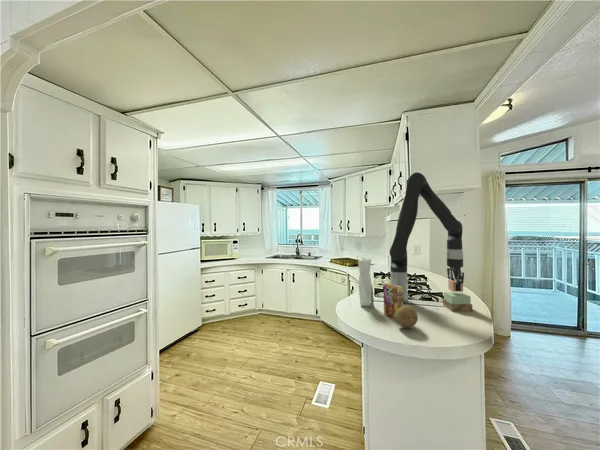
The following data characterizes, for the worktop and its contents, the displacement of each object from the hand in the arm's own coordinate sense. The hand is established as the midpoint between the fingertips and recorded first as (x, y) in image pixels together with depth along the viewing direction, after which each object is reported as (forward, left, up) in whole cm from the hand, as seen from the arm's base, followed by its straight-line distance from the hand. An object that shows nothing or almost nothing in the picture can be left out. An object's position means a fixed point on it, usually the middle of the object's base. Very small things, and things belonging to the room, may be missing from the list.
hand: (455, 289), depth 135 cm
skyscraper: (-46, +3, -10) cm, 48 cm away
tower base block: (+1, 0, -10) cm, 10 cm away
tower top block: (0, 0, -6) cm, 6 cm away
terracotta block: (0, 0, 0) cm, 0 cm away
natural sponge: (-33, -29, -10) cm, 45 cm away
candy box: (-35, -14, -10) cm, 39 cm away
